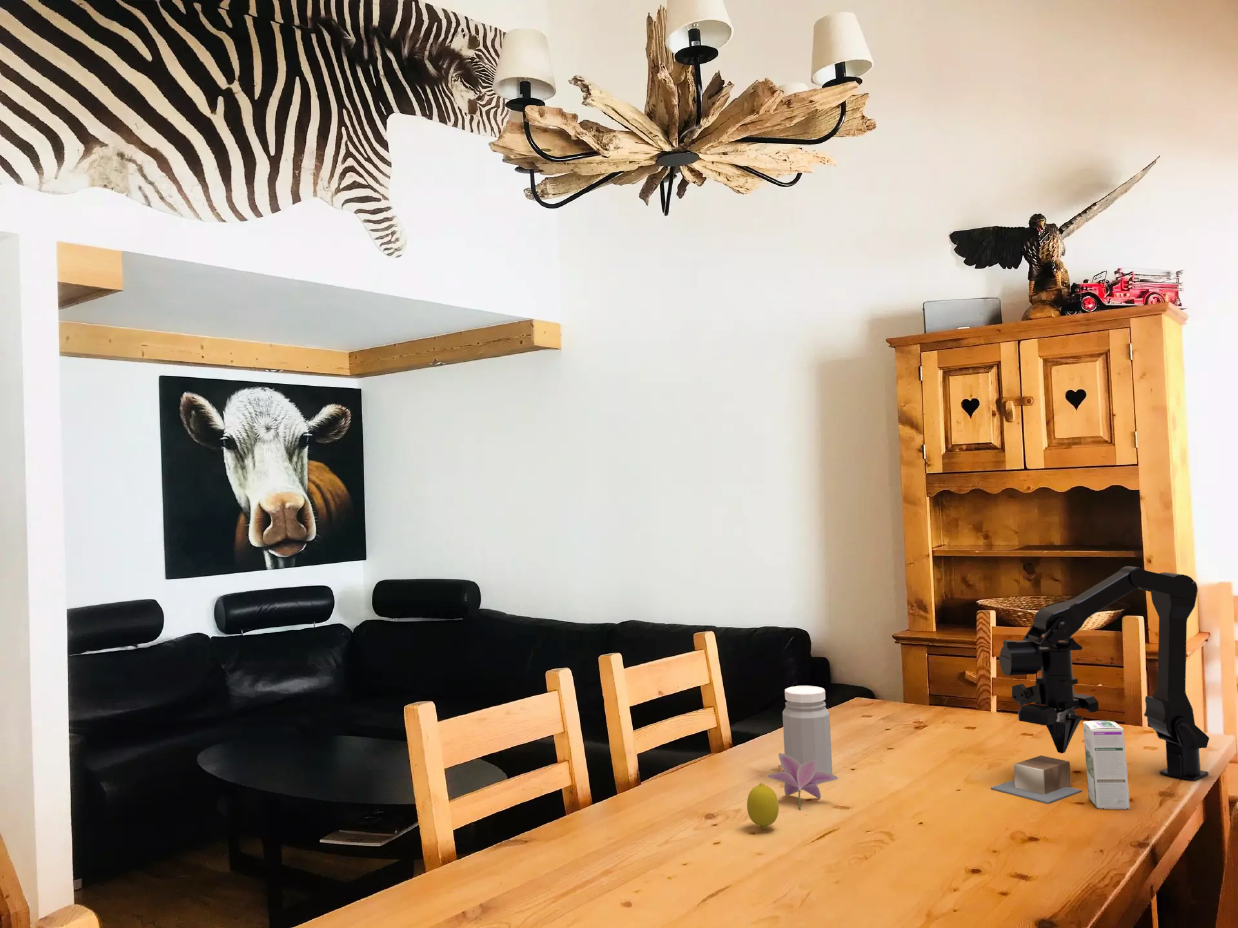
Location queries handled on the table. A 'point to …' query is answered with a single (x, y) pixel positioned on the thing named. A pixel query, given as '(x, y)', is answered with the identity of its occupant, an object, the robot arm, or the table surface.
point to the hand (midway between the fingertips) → (1061, 752)
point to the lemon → (762, 805)
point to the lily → (801, 776)
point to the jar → (807, 726)
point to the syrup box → (1106, 765)
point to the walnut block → (1042, 774)
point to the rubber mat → (1046, 798)
